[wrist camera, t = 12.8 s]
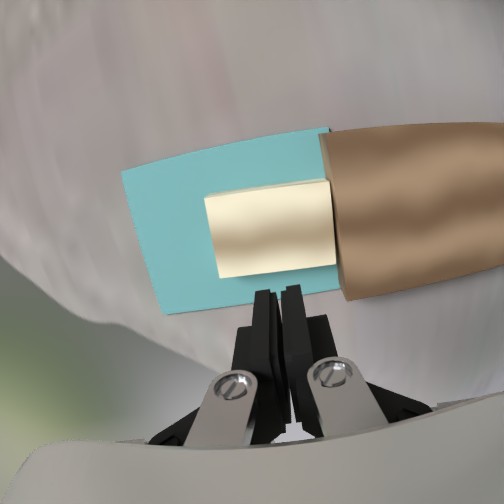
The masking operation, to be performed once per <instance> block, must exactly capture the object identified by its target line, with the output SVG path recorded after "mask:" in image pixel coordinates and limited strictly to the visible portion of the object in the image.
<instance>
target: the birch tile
mask: <svg viewBox="0 0 504 504" xmlns="http://www.w3.org/2000/svg"><path fill="white" fill-rule="evenodd" d="M204 201H205V206H206V211H207V217H208V222H209V227H210V232H211V238H212V243H213V248H214V253H215V258H216V263H217V268H218V273H219V277H220V278H228V277H237V276H246V275H254V274H262V273H271V272H279V271H287V270H295V269H303V268H310V267H318V266H326V265H333V264H336V254H335V239H334V226H333V214H332V203H331V193H330V183H329V181H328V180H326V179H325V178H320V179H311V180H302V181H294V182H286V183H278V184H270V185H263V186H256V187H249V188H242V189H235V190H228V191H222V192H216V193H210V194H208V195H207V196H206V197H205V198H204Z"/></svg>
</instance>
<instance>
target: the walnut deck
mask: <svg viewBox="0 0 504 504" xmlns="http://www.w3.org/2000/svg"><path fill="white" fill-rule="evenodd" d="M318 136H319V142H320V148H321V153H322V159H323V165H324V171H325V177H326V180H328V181H329V183H330V193H331V203H332V214H333V226H334V239H335V252H336V261H337V270H338V281H339V285H340V288H341V290H342V292H343V294H344V296H345V299H346V301H352V300H357V299H362V298H367V297H372V296H377V295H382V294H387V293H392V292H396V291H401V290H405V289H410V288H414V287H419V286H423V285H427V284H432V283H436V282H440V281H444V280H448V279H452V278H456V277H460V276H464V275H468V274H472V273H476V272H479V271H483V270H487V269H490V268H494V267H498V266H501V265H504V123H489V122H460V123H427V124H409V125H395V126H382V127H372V128H362V129H352V130H344V131H336V132H328V133H321V134H318Z"/></svg>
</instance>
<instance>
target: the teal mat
mask: <svg viewBox="0 0 504 504" xmlns="http://www.w3.org/2000/svg"><path fill="white" fill-rule="evenodd" d="M328 132H329V128H328V127H323V128H316V129H309V130H302V131H295V132H289V133H283V134H277V135H271V136H266V137H260V138H255V139H250V140H245V141H240V142H235V143H230V144H226V145H221V146H216V147H212V148H208V149H203V150H199V151H195V152H191V153H187V154H183V155H179V156H175V157H171V158H167V159H164V160H160V161H156V162H153V163H149V164H146V165H142V166H139V167H135V168H132V169H129V170H125V171H122V172H121V176H122V180H123V184H124V188H125V192H126V196H127V200H128V204H129V208H130V211H131V215H132V219H133V222H134V226H135V229H136V233H137V236H138V240H139V243H140V247H141V250H142V253H143V256H144V260H145V263H146V266H147V269H148V272H149V275H150V278H151V281H152V285H153V287H154V290H155V293H156V296H157V299H158V302H159V305H160V308H161V311H162V313H163V315H164V314H173V313H181V312H189V311H197V310H205V309H212V308H220V307H227V306H234V305H241V304H248V303H254V296H255V291H259V290H266V289H270V291H271V292H276V294H277V299H280V298H281V291H284V290H286V286H291V285H297V284H300V286H301V291H302V295H304V294H310V293H316V292H322V291H327V290H333V289H338V288H340V285H339V281H338V270H337V261H336V264H333V265H326V266H318V267H310V268H303V269H295V270H287V271H279V272H271V273H262V274H254V275H246V276H237V277H228V278H220V277H219V273H218V268H217V263H216V258H215V253H214V248H213V243H212V238H211V232H210V227H209V222H208V217H207V211H206V206H205V201H204V198H205V197H206V196H207V195H208V194H210V193H216V192H222V191H228V190H235V189H242V188H249V187H256V186H263V185H270V184H278V183H286V182H294V181H302V180H311V179H320V178H325V179H326V177H325V171H324V165H323V159H322V153H321V148H320V142H319V136H318V134H321V133H328ZM335 254H336V252H335Z"/></svg>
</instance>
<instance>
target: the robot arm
mask: <svg viewBox="0 0 504 504" xmlns="http://www.w3.org/2000/svg"><path fill="white" fill-rule="evenodd" d="M281 308H282V320H281V315H280V309H279V304H278V299H277V294H276V292H271V291H270V289H266V290H259V291H255V296H254V307H253V318H252V326H247V327H239V328H238V330H237V336H236V342H235V349H234V355H233V361H232V368H231V371H228V372H225V373H223V374H221V375H219V376H217V377H216V378H215V379H214V380H213V381H212V383H211V384H210V385H209V388H208V390H207V393H206V395H205V397H204V400H203V402H202V404H201V406H200V407H199V408H197V409H196V410H194V411H193V412H191V413H190V414H188V415H187V416H185V417H184V418H182V419H180V420H179V421H177V422H176V423H174V424H173V425H171V426H169V427H168V428H166V429H165V430H163V431H161V432H160V433H158V434H157V435H155V436H154V437H153V438H152V439H151V440H150V441H149V442H146V440H145V439H138V440H130V441H120V442H106V441H95V440H65V441H59V442H53V443H49V444H46V445H43V446H40V447H38V448H37V449H35V450H34V451H33V452H32V453H31V454H30V455H29V456H28V457H27V458H26V460H25V461H24V462H23V464H22V465H21V467H20V468H19V470H18V471H17V473H16V474H15V476H14V478H13V480H12V481H11V483H10V485H9V487H8V489H7V491H6V493H5V494H4V496H3V498H2V500H1V502H0V504H504V391H503V392H498V393H492V394H489V395H485V396H482V397H477V398H471V399H465V400H458V401H452V402H444V403H437V406H436V407H432V408H430V407H429V406H428V405H426V404H424V403H422V402H419V401H416V400H413V399H411V398H408V397H405V396H402V395H400V394H397V393H394V392H392V391H389V390H386V389H384V388H381V387H378V386H376V385H373V384H371V383H368V382H366V381H365V380H364V378H363V376H362V374H361V373H360V371H359V369H358V367H357V366H356V365H355V364H354V362H353V361H351V360H349V359H347V358H343V357H338V355H337V351H336V347H335V343H334V340H333V336H332V332H331V329H330V325H329V321H328V318H327V315H326V314H325V315H319V316H313V317H307V318H306V313H305V308H304V302H303V297H302V291H301V286H300V284H297V285H291V286H286V290H284V291H281ZM290 391H291V396H292V402H293V407H294V413H295V418H296V422H302V428H303V430H304V431H306V432H308V433H309V434H311V435H313V436H315V438H314V439H307V440H299V441H291V442H282V443H275V442H274V439H275V438H277V437H278V436H279V435H280V434H281V433H286V424H289V423H291V403H290Z"/></svg>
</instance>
